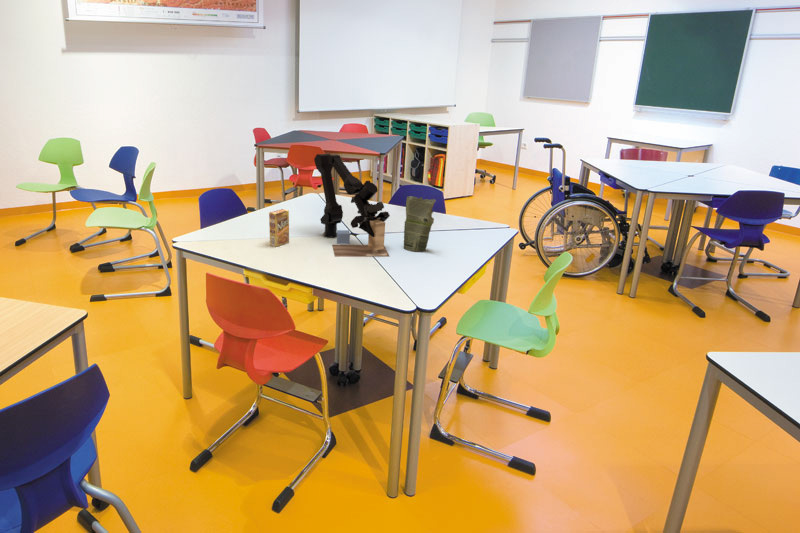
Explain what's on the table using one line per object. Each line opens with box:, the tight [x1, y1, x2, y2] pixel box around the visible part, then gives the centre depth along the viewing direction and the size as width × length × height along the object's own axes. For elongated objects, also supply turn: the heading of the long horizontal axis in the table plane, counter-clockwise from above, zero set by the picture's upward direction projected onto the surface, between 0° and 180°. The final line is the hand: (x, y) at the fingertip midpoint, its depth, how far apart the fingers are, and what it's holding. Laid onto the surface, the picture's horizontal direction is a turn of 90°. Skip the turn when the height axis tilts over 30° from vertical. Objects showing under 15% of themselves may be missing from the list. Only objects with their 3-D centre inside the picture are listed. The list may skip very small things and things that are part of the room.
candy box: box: [268, 208, 290, 248], centre depth 252 cm, size 9×4×15 cm, turn 150°
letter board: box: [331, 244, 391, 258], centre depth 251 cm, size 17×24×1 cm
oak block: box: [367, 220, 386, 250], centre depth 247 cm, size 5×5×12 cm
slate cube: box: [336, 229, 351, 245], centre depth 261 cm, size 6×6×6 cm
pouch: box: [403, 195, 437, 253], centre depth 255 cm, size 11×12×25 cm
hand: (378, 235), depth 246 cm, fingers closed on oak block, 5 cm apart
